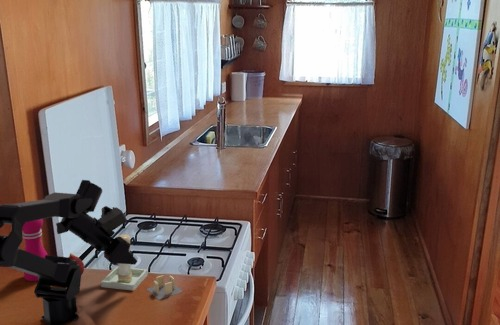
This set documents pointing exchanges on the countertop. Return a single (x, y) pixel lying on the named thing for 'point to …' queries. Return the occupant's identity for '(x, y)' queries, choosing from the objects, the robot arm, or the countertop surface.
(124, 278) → the white and tan post
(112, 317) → the countertop surface
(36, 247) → the pepper mill
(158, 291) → the grey stand with brackets
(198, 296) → the countertop surface
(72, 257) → the onion
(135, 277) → the tray
